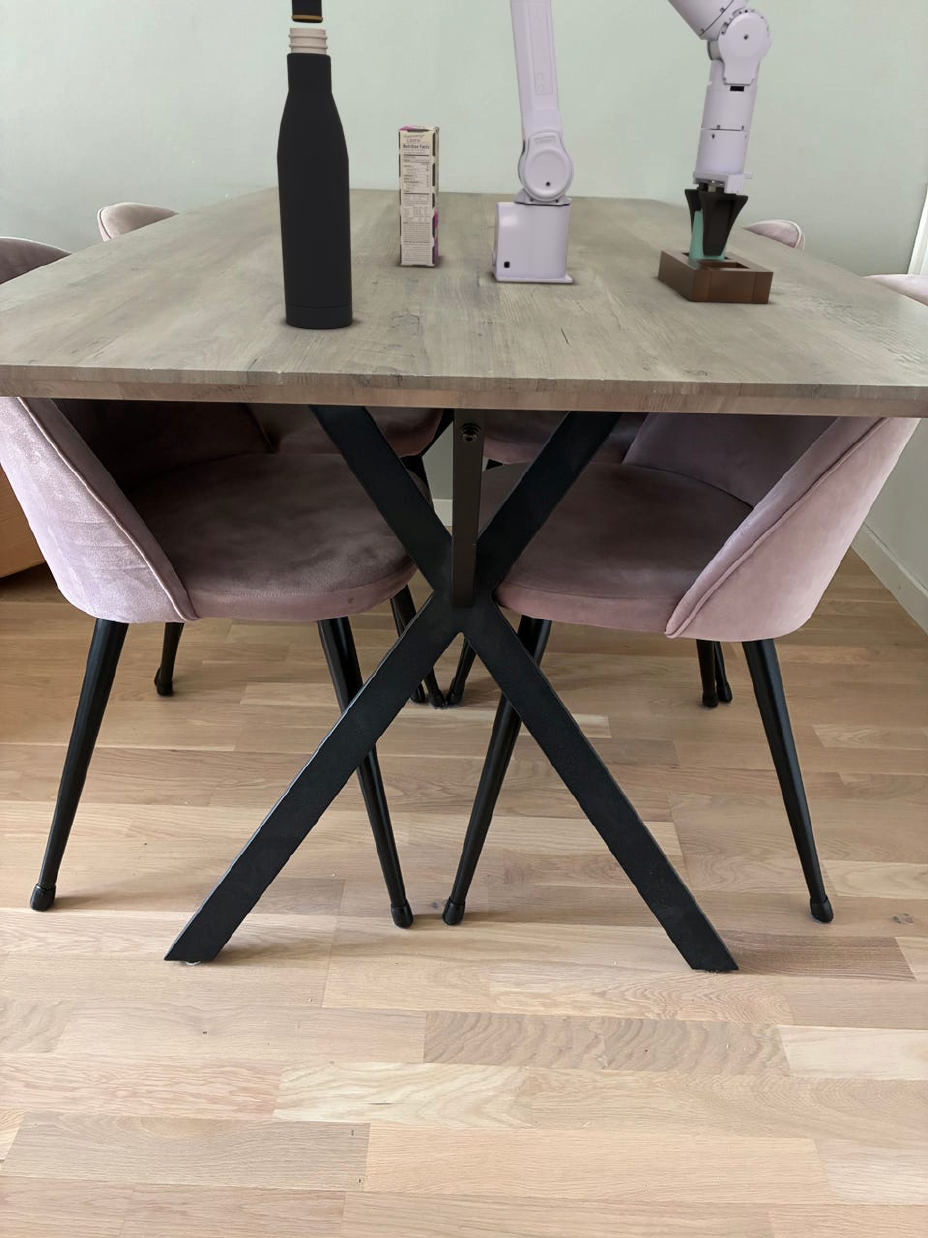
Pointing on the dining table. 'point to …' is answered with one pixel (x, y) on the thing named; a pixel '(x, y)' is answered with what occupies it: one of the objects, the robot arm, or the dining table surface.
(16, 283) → the dining table surface
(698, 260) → the peg block
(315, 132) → the black bottle
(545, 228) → the robot arm
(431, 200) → the candy bar box
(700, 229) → the small bottle
